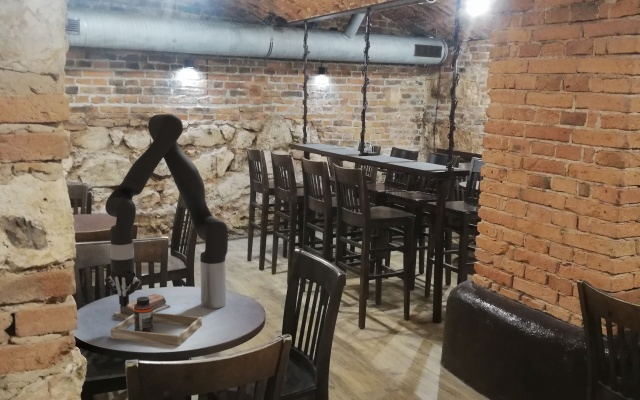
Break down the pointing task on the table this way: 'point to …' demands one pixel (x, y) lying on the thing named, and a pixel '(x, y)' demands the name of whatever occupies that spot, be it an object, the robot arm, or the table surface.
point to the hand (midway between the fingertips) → (124, 305)
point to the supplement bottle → (143, 315)
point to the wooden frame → (124, 334)
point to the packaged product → (127, 311)
